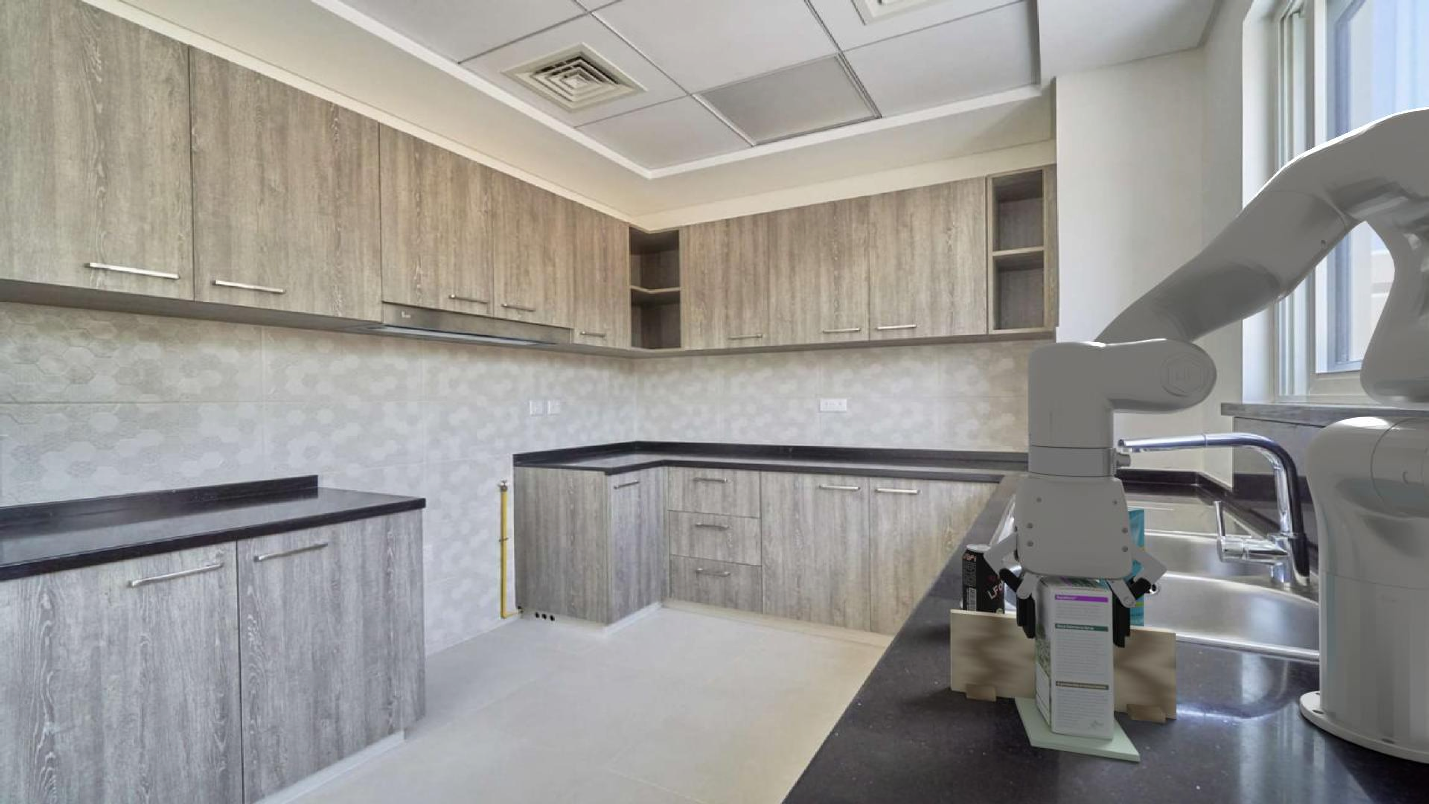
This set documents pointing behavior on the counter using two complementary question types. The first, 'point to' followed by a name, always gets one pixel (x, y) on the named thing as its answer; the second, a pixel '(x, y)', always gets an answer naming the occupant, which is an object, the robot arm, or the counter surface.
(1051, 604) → the syrup box
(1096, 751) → the green pad
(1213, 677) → the counter surface
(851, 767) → the counter surface
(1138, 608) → the tube
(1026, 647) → the birch board
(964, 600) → the beverage can
